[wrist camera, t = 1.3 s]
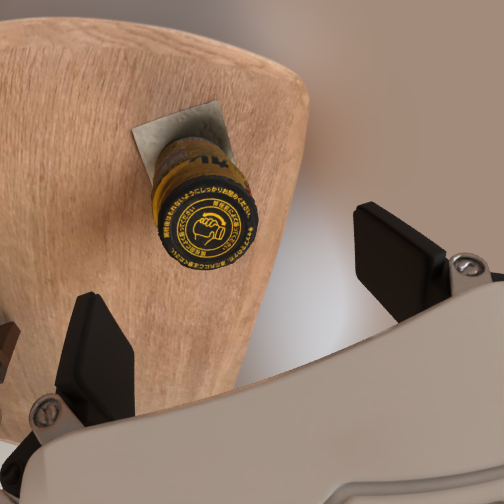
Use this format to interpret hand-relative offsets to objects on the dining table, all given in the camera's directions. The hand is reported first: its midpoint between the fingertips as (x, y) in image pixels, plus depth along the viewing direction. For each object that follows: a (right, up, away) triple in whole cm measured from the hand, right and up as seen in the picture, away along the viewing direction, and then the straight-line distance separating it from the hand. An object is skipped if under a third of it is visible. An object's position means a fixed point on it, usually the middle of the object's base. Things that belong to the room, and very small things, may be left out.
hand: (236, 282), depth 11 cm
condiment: (-5, +9, +15) cm, 18 cm away
